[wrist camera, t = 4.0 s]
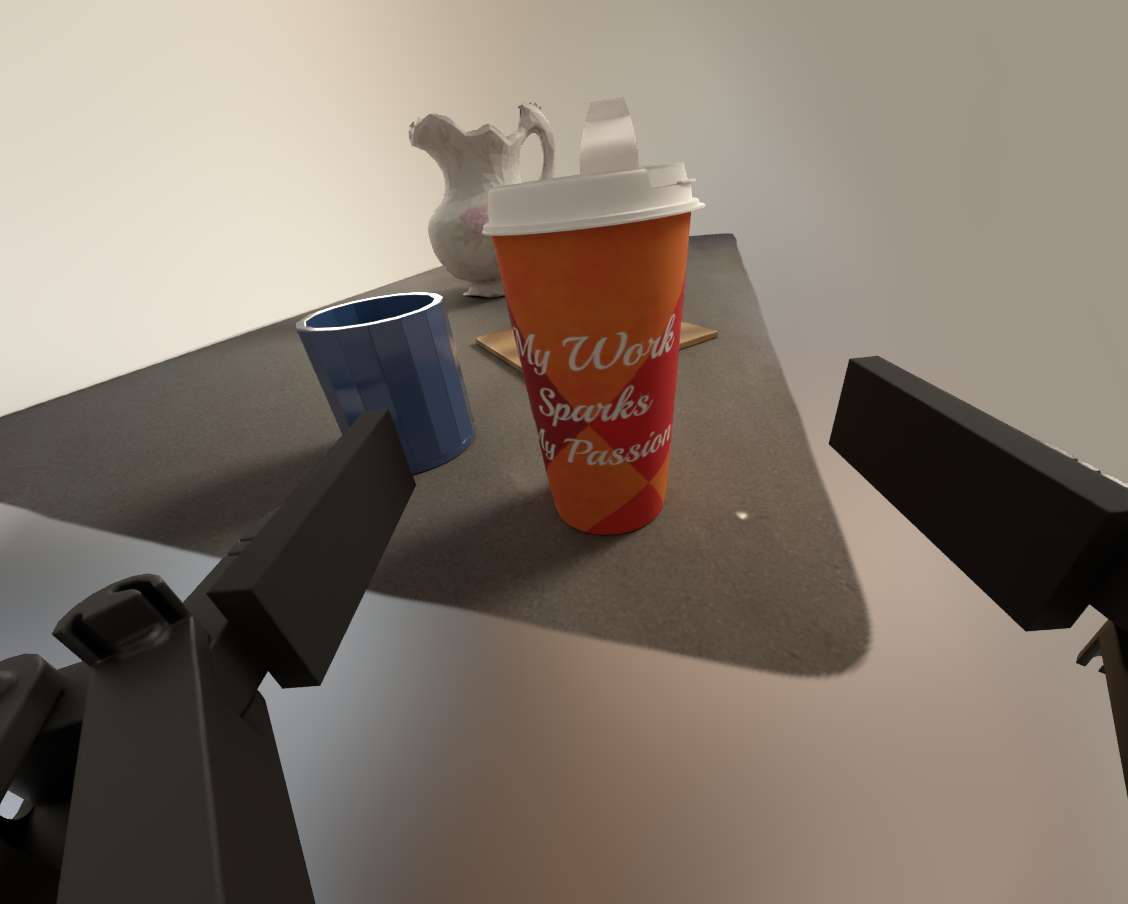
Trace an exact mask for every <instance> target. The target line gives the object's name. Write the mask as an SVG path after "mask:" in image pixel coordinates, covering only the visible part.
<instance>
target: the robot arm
mask: <svg viewBox="0 0 1128 904" xmlns="http://www.w3.org/2000/svg"><path fill="white" fill-rule="evenodd" d="M829 445H830V446H831V447H832V448H833V449H835V450H836V451H837V452H838V453H839V454H840V455H841V456H842V457H843V458H844V459H845V460H846V461H847V462H848V463H849V464H850V465H851V466H852V467H853V468H855V469H856V470H857V471H858V472H859V473H860V474H861V475H862V476H863V477H864V478H865V479H866V480H867V481H868V482H869V483H870V484H871V485H872V486H874V488H875V489H877V490H878V491H879V492H880V493H881V494H882V495H883V496H884V497H885V498H886V499H887V500H888V501H889V502H890V503H891V504H892V505H893V506H895V507H896V508H897V509H898V510H899V511H900V512H901V513H902V514H903V515H904V516H905V517H906V518H907V519H908V520H909V521H910V522H911V523H912V524H914V526H915V527H917V528H918V529H919V530H920V531H921V532H922V533H923V534H924V535H925V536H926V537H927V538H928V539H929V540H930V541H931V542H932V543H933V544H934V545H935V546H936V547H937V548H939V549H940V550H941V551H942V552H943V553H944V554H945V555H946V556H947V557H948V558H949V559H950V560H951V561H952V562H953V563H954V564H956V565H957V567H958V568H960V569H961V570H962V571H963V572H964V573H965V574H966V575H967V576H968V577H969V578H970V579H971V580H972V581H973V582H974V583H975V584H976V585H977V586H979V588H981V589H982V590H983V591H984V592H985V593H986V594H987V595H988V596H989V597H990V598H991V599H992V600H993V601H994V602H995V603H996V604H997V605H999V607H1001V608H1002V609H1003V610H1004V611H1005V612H1006V613H1007V614H1008V615H1009V616H1010V617H1011V618H1012V619H1013V620H1014V621H1015V622H1016V623H1017V624H1018V625H1019V626H1020V627H1022V628H1023V629H1024V630H1025V631H1038V630H1051V629H1064V628H1071V627H1072V625H1073V624H1074V623H1075V621H1076V620H1077V619H1078V618H1079V617H1080V615H1081V614H1082V613H1083V612H1084V610H1085V609H1086V608H1087V606H1088V605H1089V604H1090V605H1091V606H1092V607H1094V608H1095V609H1096V610H1098V611H1099V612H1100V613H1102V614H1103V615H1104V616H1105V617H1107V618H1108V620H1107V621H1106V623H1105V624H1104V625H1103V626H1102V627H1101V628H1100V630H1099V631H1098V632H1097V633H1096V634H1095V636H1094V637H1093V638H1092V639H1091V640H1090V641H1089V643H1088V644H1087V645H1086V646H1085V647H1084V649H1083V650H1082V651H1081V652H1080V653H1079V655H1078V657H1077V661H1076V663H1078V664H1080V665H1083V666H1086V665H1087V664H1088V663H1089V661H1090V660H1091V659H1092V658H1093V657H1096V656H1102V658H1103V664H1104V665H1103V666H1102V667H1101V668H1100V669H1099V672H1101V673H1104V674H1105V675H1106V680H1107V686H1108V691H1109V697H1110V702H1111V708H1112V713H1113V719H1114V724H1115V730H1116V735H1117V741H1118V746H1119V752H1120V757H1121V763H1122V768H1123V774H1124V779H1125V785H1126V790H1127V796H1128V484H1126V483H1124V482H1122V481H1120V480H1118V479H1116V478H1114V477H1112V476H1110V475H1109V474H1107V473H1105V474H1101V473H1100V470H1099V469H1097V468H1095V467H1093V466H1091V465H1089V464H1088V463H1086V462H1084V461H1078V460H1077V459H1078V458H1076V457H1074V456H1072V455H1070V454H1068V453H1067V452H1065V451H1063V450H1061V449H1059V448H1057V447H1055V446H1053V445H1051V444H1049V443H1045V442H1043V441H1040V440H1037V439H1034V438H1032V437H1030V436H1028V435H1026V434H1024V433H1023V432H1021V431H1019V430H1017V429H1015V428H1013V427H1011V426H1009V425H1007V424H1005V423H1004V422H1002V421H1000V420H997V419H996V418H994V417H992V416H990V415H989V414H987V413H985V412H983V411H981V410H979V409H977V408H975V407H973V406H972V405H970V404H968V403H966V402H964V401H962V400H960V399H958V398H956V397H954V396H953V395H951V394H949V393H947V392H945V391H943V390H941V389H939V388H938V387H936V386H934V385H932V384H930V383H928V382H926V381H924V380H922V379H921V378H918V377H917V376H915V375H913V374H911V373H909V372H907V371H905V370H904V369H902V368H900V367H898V366H896V365H894V364H892V363H890V362H888V361H887V360H885V359H883V358H881V357H879V356H872V357H864V358H853V359H849V363H848V367H847V371H846V375H845V379H844V383H843V387H842V392H841V395H840V400H839V404H838V408H837V412H836V416H835V420H834V424H833V428H832V433H831V436H830V441H829ZM415 486H416V483H415V481H414V478H413V475H412V472H411V470H410V467H409V464H408V461H407V458H406V456H405V453H404V450H403V447H402V445H401V442H400V439H399V436H398V433H397V431H396V428H395V425H394V422H393V420H392V417H391V414H390V411H389V409H383V410H374V411H364V412H362V414H361V415H360V416H359V417H358V418H357V419H356V421H355V422H354V423H353V424H352V425H351V426H350V427H349V429H348V430H347V431H346V432H345V433H344V434H343V436H342V437H341V438H340V439H339V440H338V441H337V442H336V444H335V445H334V446H333V447H332V448H331V449H330V451H329V452H328V453H327V454H326V455H325V456H324V457H323V459H322V460H321V461H320V462H319V463H318V464H317V466H316V467H315V468H314V469H313V470H312V471H311V472H310V474H309V475H308V476H307V477H306V478H305V479H304V480H303V482H302V483H301V484H300V485H299V486H298V487H297V489H296V490H295V491H294V492H293V493H292V494H291V495H290V497H289V498H288V499H287V500H286V501H285V502H284V504H283V505H282V506H281V507H276V508H275V509H274V510H272V511H271V512H269V513H268V514H266V515H265V516H264V517H262V518H261V519H259V520H258V521H257V522H255V523H254V524H253V526H252V527H251V528H250V529H249V530H248V531H247V532H246V533H245V534H244V535H243V537H242V538H241V539H240V543H236V544H235V545H234V547H233V548H232V549H231V550H230V551H229V552H228V553H227V554H228V556H227V557H224V558H223V559H222V560H221V561H220V562H219V563H218V565H216V567H215V568H214V569H213V570H212V571H211V572H210V573H209V574H208V575H207V576H206V578H205V579H204V580H203V581H202V582H201V583H200V584H199V585H198V586H197V588H196V589H195V590H194V591H193V592H192V593H191V594H190V595H189V596H188V598H187V599H186V600H185V601H184V602H183V603H182V601H181V600H180V599H179V598H178V597H177V596H176V594H175V593H174V592H173V591H172V590H171V589H170V588H169V586H168V585H167V584H166V583H165V582H164V581H163V579H162V578H161V577H160V576H159V575H153V574H143V575H138V576H132V577H130V578H126V579H124V580H121V581H118V582H115V583H113V584H111V585H109V586H107V587H105V588H103V589H101V590H99V591H98V592H96V593H94V594H92V595H91V596H89V597H88V598H86V599H85V600H83V601H82V602H81V603H79V604H78V605H76V606H75V607H74V608H72V609H71V610H70V611H69V612H68V613H67V614H66V615H65V616H64V617H63V618H62V619H61V620H60V621H59V622H58V624H57V626H56V627H55V629H54V631H53V633H52V635H53V636H54V637H56V638H57V639H58V640H59V641H60V642H61V643H63V644H64V645H65V646H66V647H67V648H68V649H70V650H71V651H72V652H73V653H74V654H76V655H77V656H78V657H79V658H80V659H81V660H82V662H79V663H76V664H73V665H70V666H67V667H64V668H61V669H58V670H57V669H55V668H54V667H53V666H52V665H50V664H49V663H48V662H46V661H45V660H44V659H43V658H42V657H40V656H39V655H37V654H23V655H19V656H15V657H11V658H8V659H5V660H3V661H1V662H0V803H1V801H2V800H3V798H4V796H5V794H6V792H7V791H8V790H9V791H10V792H12V793H14V794H16V795H17V796H19V797H21V798H23V799H24V801H23V803H22V805H21V807H20V809H19V811H18V813H17V814H16V815H15V816H14V818H13V819H6V818H4V817H2V816H0V904H315V900H314V896H313V892H312V888H311V884H310V880H309V876H308V872H307V868H306V863H305V860H304V856H303V851H302V847H301V844H300V840H299V835H298V831H297V827H296V823H295V819H294V815H293V811H292V807H291V803H290V799H289V795H288V790H287V786H286V782H285V778H284V774H283V771H282V766H281V762H280V758H279V754H278V750H277V746H276V742H275V738H274V734H273V730H272V726H271V721H270V718H269V713H268V710H267V706H266V702H265V699H264V697H263V696H262V695H261V693H260V692H259V691H258V690H257V689H258V687H259V685H260V684H261V682H262V680H263V678H264V677H265V675H266V674H267V672H268V671H269V672H270V674H271V675H272V676H273V678H274V679H275V680H276V681H277V682H278V684H279V685H280V686H281V687H282V688H283V689H284V688H297V687H309V686H320V685H321V683H322V681H323V679H324V676H325V675H326V673H327V670H328V668H329V666H330V664H331V662H332V660H333V658H334V656H335V654H336V651H337V650H338V647H339V645H340V643H341V641H342V639H343V637H344V635H345V633H346V631H347V629H348V626H349V624H350V622H351V620H352V618H353V616H354V614H355V611H356V610H357V607H358V606H359V603H360V601H361V599H362V597H363V595H364V593H365V591H366V589H367V587H368V585H369V582H370V580H371V578H372V576H373V574H374V572H375V570H376V568H377V566H378V564H379V561H380V559H381V557H382V555H383V553H384V551H385V549H386V547H387V545H388V543H389V541H390V538H391V536H392V534H393V532H394V530H395V528H396V526H397V524H398V522H399V520H400V517H401V515H402V513H403V511H404V509H405V507H406V505H407V503H408V501H409V499H410V497H411V494H412V492H413V490H414V488H415Z"/></svg>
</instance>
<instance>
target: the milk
mask: <svg viewBox="0 0 1128 904" xmlns="http://www.w3.org/2000/svg"><path fill="white" fill-rule="evenodd" d="M636 167H638V150H637V142H636V137H635V133H634V129H633V125H632V121H631V117H630V116H629V112H628V109H627V106H626V104H625V101H624V99H623V97H622V98H616V99H610V100H604V101H598V102H592V103H591V104H590V108H589V111H588V115H587V118H586V123H585V127H584V131H583V136H582V141H581V147H580V175H582V174H589V173H597V172H604V171H612V170H620V169H628V168H636Z"/></svg>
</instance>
